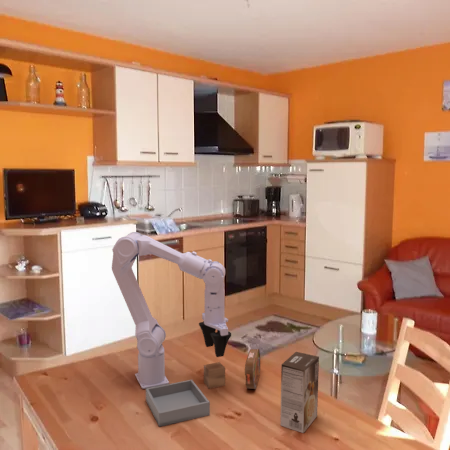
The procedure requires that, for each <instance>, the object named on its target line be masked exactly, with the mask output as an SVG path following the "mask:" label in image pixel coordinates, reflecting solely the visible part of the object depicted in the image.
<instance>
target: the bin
mask: <svg viewBox="0 0 450 450" xmlns="http://www.w3.org/2000/svg"><path fill="white" fill-rule="evenodd" d="M145 402H146V404H147V407H148V408H149V411H150V412H151V413H152V416H153V418H154V419H155V421H156V423H157V425H158V427H159V428H160V427H165V426H170V425H174V424H178V423H181V422H186V421H189V420H193V419H194V420H195V419H198V418H203V417H208V416H210V415H211V413H210V412H211V409H210V408H211V406H210V405H211V402H210V400H208V398H207V397H206V395H205V394H204V393H203V391H202V390H201V389H200V387H198V385H197V384H196V383H195V382H194V379H188V380H183V381H178V382H177V381H176V382H173V383H169V384H165V385H160V386H155V387H150V388H145Z"/></svg>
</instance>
